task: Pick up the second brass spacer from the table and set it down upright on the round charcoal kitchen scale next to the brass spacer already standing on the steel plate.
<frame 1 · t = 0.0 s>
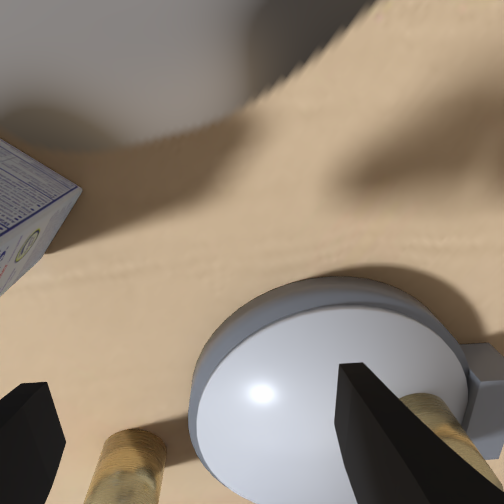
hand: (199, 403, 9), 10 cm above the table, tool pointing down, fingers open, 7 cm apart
spacer b: (135, 451, 24), on the table
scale: (322, 392, 23), on the table
spacer a: (413, 420, 21), point 2 cm above the table, touching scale
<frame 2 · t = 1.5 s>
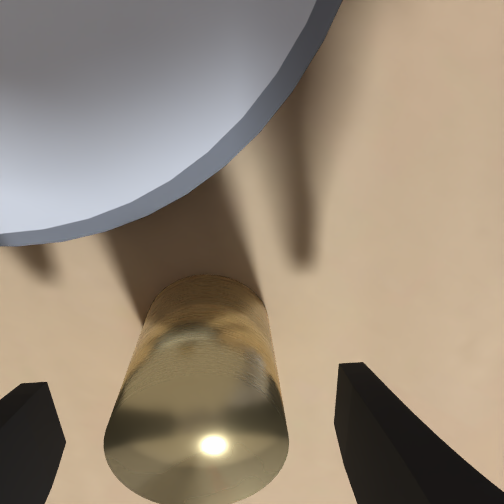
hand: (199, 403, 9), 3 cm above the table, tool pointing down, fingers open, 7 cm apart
spacer b: (208, 328, 12), on the table
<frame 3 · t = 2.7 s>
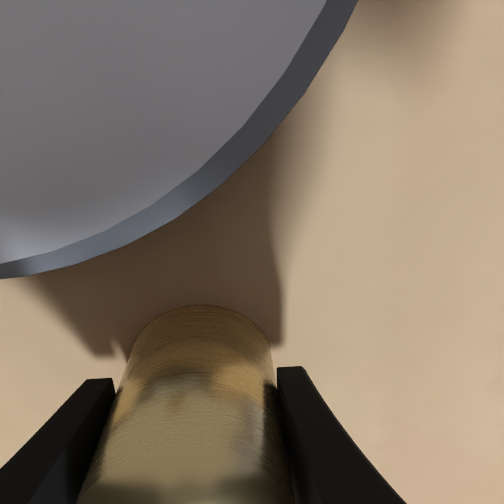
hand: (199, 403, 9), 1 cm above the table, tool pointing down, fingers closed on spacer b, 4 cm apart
spacer b: (202, 365, 11), on the table, touching gripper
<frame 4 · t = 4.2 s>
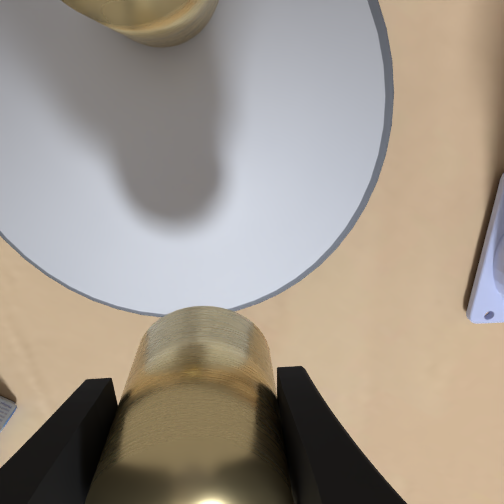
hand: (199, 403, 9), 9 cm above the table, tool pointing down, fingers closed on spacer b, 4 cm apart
spacer b: (204, 362, 11), point 7 cm above the table, touching gripper
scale: (178, 123, 15), on the table
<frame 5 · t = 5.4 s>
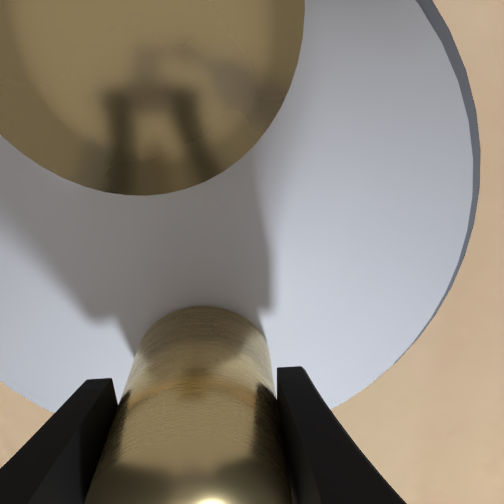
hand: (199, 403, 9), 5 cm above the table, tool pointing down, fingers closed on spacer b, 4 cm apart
spacer b: (204, 362, 11), point 3 cm above the table, touching gripper
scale: (199, 214, 12), on the table
spacer a: (174, 52, 8), point 2 cm above the table, touching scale
when the fingers open (5 cm above the table, at t = 6.0 s): spacer b stays where it is, resting on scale.
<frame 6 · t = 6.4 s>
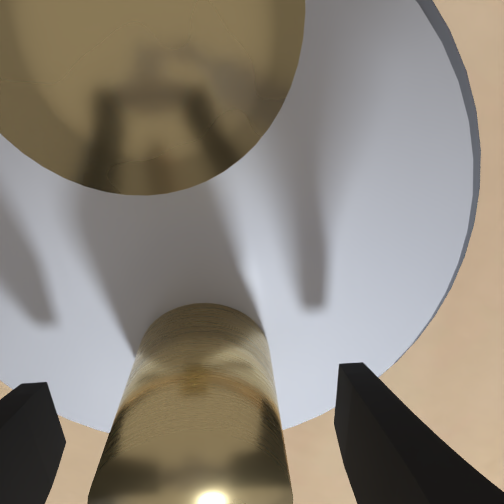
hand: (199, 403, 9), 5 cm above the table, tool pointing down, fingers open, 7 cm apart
spacer b: (205, 358, 11), point 2 cm above the table, touching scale
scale: (199, 214, 12), on the table
spacer a: (175, 52, 8), point 2 cm above the table, touching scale
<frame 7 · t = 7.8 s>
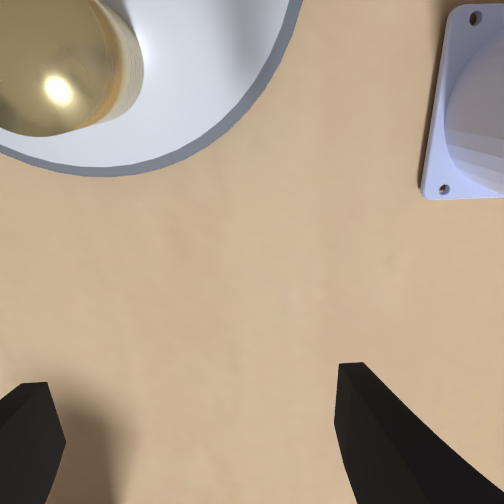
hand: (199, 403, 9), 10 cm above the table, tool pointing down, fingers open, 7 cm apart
spacer b: (86, 63, 13), point 2 cm above the table, touching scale
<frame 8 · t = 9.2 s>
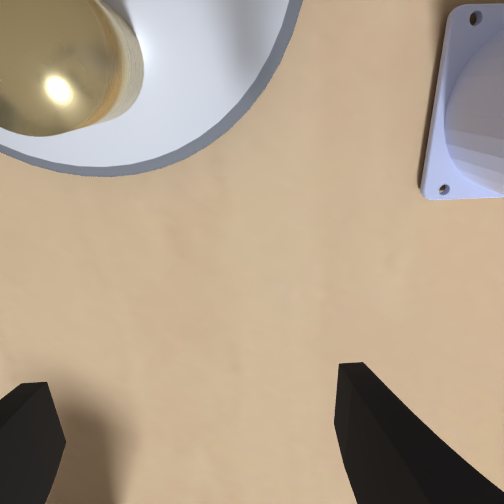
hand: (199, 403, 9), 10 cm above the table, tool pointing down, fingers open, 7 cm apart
spacer b: (86, 62, 13), point 2 cm above the table, touching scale
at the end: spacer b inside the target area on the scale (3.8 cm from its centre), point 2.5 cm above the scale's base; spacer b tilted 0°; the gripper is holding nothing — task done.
